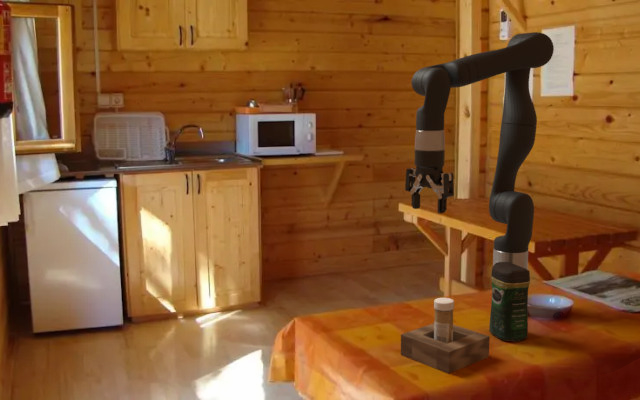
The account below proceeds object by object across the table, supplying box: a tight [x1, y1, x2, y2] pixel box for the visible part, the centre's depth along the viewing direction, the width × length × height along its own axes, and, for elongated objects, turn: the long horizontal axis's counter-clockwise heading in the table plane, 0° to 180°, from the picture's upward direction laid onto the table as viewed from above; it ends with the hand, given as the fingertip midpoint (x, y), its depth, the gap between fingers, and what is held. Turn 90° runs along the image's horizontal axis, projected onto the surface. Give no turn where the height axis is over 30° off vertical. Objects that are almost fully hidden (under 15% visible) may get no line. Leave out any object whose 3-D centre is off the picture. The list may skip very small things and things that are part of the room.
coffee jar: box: [488, 262, 531, 342], centre depth 180 cm, size 10×8×19 cm
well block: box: [400, 322, 491, 375], centre depth 169 cm, size 14×14×5 cm
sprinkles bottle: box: [433, 297, 455, 344], centre depth 169 cm, size 5×5×13 cm
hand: (428, 210), depth 187 cm, fingers open, 8 cm apart
